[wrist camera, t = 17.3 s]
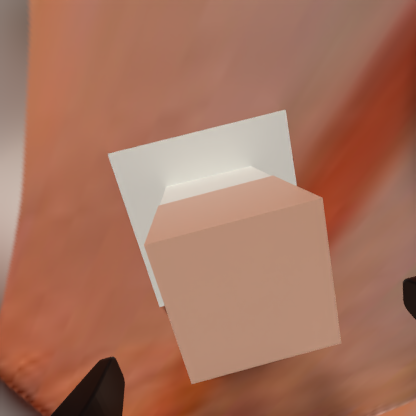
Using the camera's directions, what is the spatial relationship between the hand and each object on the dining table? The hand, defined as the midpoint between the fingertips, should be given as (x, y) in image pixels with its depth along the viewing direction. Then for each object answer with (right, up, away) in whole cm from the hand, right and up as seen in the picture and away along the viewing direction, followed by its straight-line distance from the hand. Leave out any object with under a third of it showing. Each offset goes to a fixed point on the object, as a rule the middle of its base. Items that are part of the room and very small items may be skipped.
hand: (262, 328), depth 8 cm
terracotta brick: (-1, +2, +6) cm, 6 cm away
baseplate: (-1, +3, +12) cm, 13 cm away
